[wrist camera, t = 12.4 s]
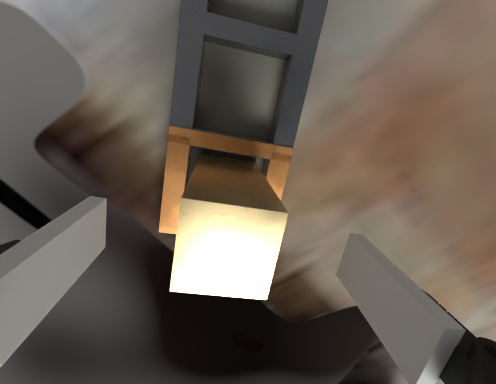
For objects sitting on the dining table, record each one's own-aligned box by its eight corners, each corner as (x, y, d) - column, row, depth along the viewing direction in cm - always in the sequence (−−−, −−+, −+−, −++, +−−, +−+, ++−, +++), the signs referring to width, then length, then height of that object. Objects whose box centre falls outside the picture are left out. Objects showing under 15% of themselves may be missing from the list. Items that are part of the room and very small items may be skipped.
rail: (337, -73, 19) (351, -95, 17) (266, 234, 26) (270, 245, 24) (199, -118, 17) (195, -149, 15) (164, 221, 24) (158, 231, 22)
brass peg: (255, 162, 23) (288, 213, 12) (246, 212, 25) (266, 299, 14) (201, 153, 23) (180, 197, 11) (194, 205, 24) (169, 291, 13)
